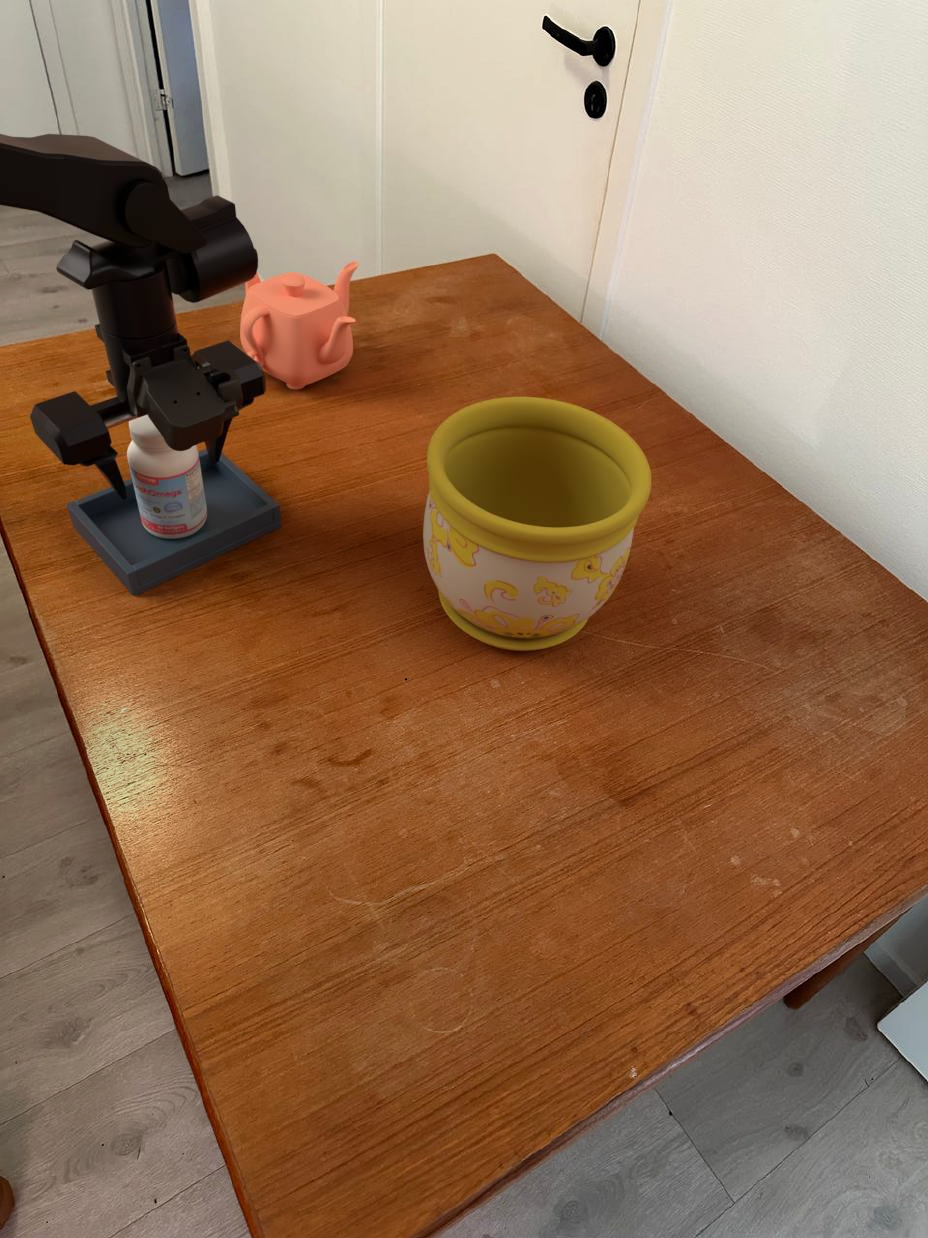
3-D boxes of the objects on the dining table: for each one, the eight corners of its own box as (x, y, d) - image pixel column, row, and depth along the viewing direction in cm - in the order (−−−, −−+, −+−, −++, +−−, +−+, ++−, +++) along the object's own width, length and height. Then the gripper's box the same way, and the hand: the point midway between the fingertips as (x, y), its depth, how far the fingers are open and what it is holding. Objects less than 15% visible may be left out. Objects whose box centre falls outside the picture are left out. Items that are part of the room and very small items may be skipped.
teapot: (243, 333, 108) (234, 246, 100) (358, 339, 110) (359, 254, 102) (229, 398, 98) (218, 307, 90) (355, 404, 100) (355, 315, 92)
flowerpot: (418, 531, 86) (427, 388, 74) (596, 540, 88) (633, 401, 76) (415, 672, 74) (426, 528, 62) (622, 680, 75) (672, 541, 63)
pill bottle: (130, 533, 81) (105, 433, 73) (161, 494, 85) (140, 395, 77) (191, 548, 81) (172, 449, 72) (219, 507, 85) (204, 409, 76)
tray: (133, 596, 77) (127, 574, 75) (73, 526, 82) (65, 504, 80) (281, 527, 85) (279, 505, 83) (217, 467, 90) (214, 445, 88)
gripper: (71, 408, 59) (117, 570, 71) (297, 331, 69) (306, 485, 80) (1, 337, 65) (55, 499, 76) (221, 274, 74) (239, 427, 85)
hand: (169, 478), depth 79 cm, fingers open, 9 cm apart
